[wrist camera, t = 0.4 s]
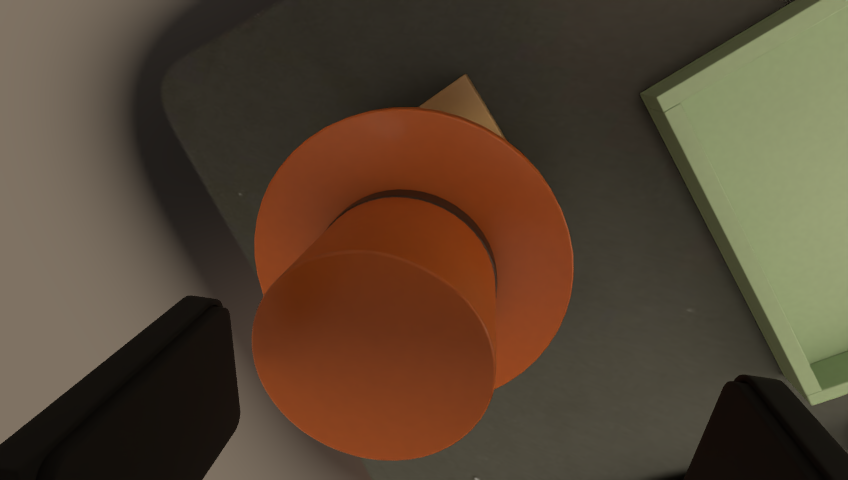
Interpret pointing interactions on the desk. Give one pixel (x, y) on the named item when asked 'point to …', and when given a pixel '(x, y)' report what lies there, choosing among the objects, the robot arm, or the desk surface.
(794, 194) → the tray
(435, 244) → the small hat
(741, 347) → the desk surface
